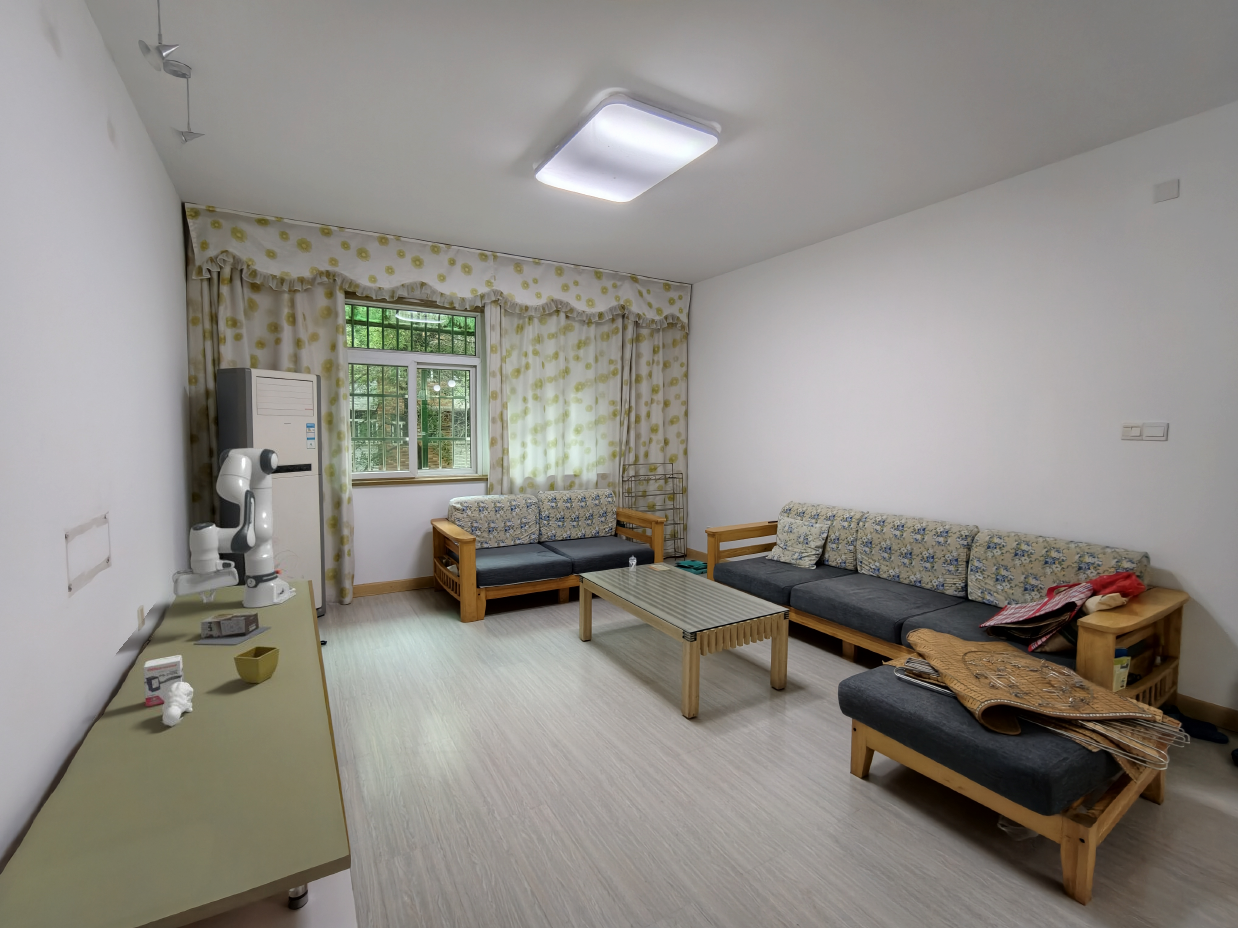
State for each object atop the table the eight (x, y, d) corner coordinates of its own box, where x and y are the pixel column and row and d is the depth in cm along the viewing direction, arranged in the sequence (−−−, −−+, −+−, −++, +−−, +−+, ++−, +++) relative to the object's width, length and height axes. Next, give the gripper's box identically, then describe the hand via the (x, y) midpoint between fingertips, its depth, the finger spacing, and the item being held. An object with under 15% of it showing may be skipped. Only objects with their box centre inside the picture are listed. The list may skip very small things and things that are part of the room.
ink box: (145, 707, 160) (142, 666, 159) (147, 700, 164) (144, 660, 163) (183, 698, 164) (180, 659, 164) (184, 692, 168) (182, 653, 168)
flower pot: (258, 687, 171) (257, 658, 170) (234, 685, 173) (232, 656, 172) (281, 674, 180) (280, 647, 179) (258, 672, 181) (256, 645, 181)
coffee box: (201, 638, 213) (245, 636, 214) (200, 621, 212) (244, 619, 213) (217, 630, 222) (259, 628, 223) (216, 613, 222) (258, 612, 222)
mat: (231, 627, 226) (231, 626, 226) (271, 627, 224) (270, 626, 224) (193, 644, 208) (193, 643, 208) (235, 645, 206) (235, 644, 206)
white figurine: (193, 676, 159) (182, 698, 148) (196, 704, 160) (185, 728, 149) (165, 681, 156) (152, 704, 145) (168, 710, 157) (155, 734, 147)
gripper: (175, 573, 205) (177, 610, 206) (238, 561, 221) (241, 596, 222) (169, 570, 209) (171, 607, 209) (232, 559, 225) (234, 594, 226)
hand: (207, 601), depth 216 cm, fingers closed
